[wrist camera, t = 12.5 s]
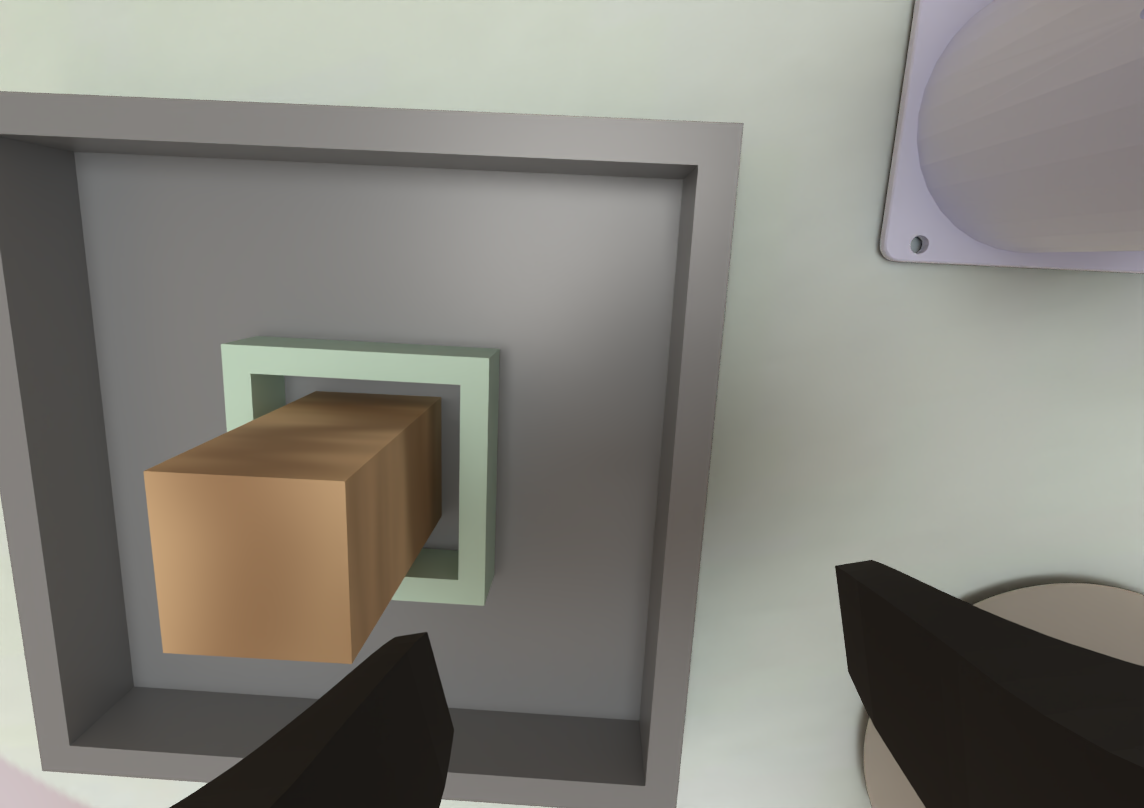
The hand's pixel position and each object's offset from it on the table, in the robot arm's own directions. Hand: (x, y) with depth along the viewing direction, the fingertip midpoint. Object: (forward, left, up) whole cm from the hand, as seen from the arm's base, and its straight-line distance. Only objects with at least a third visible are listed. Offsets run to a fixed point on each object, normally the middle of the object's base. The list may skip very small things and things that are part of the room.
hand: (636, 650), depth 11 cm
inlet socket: (+8, 0, -10) cm, 13 cm away
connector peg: (+8, 0, -10) cm, 12 cm away
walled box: (+8, 0, -10) cm, 13 cm away
